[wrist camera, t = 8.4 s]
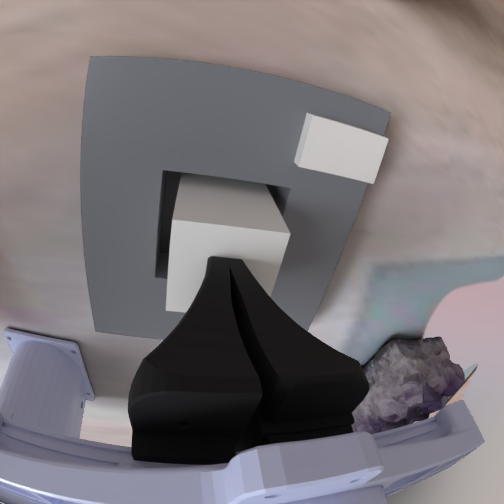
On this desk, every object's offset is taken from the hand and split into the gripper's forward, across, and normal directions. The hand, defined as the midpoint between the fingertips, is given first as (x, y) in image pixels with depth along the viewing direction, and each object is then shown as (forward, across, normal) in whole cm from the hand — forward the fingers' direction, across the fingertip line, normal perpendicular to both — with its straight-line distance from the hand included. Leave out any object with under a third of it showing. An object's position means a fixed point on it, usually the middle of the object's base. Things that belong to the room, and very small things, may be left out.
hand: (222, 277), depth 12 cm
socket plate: (+6, 0, 0) cm, 6 cm away
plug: (+6, 0, +1) cm, 6 cm away
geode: (+7, -20, +19) cm, 29 cm away
